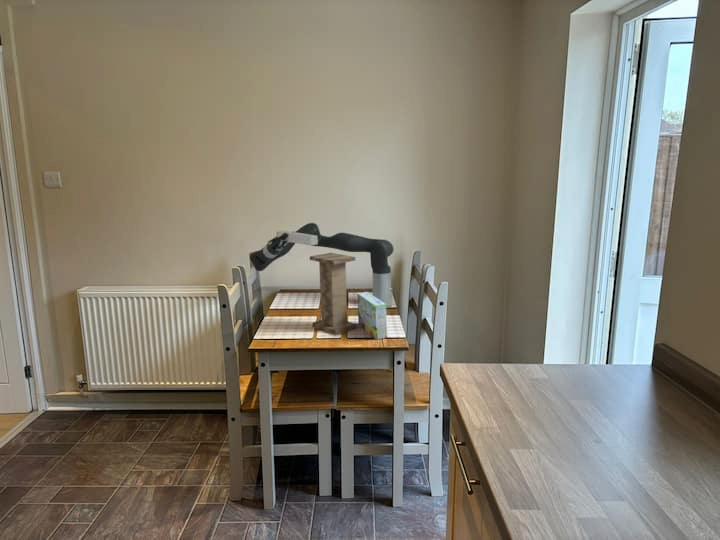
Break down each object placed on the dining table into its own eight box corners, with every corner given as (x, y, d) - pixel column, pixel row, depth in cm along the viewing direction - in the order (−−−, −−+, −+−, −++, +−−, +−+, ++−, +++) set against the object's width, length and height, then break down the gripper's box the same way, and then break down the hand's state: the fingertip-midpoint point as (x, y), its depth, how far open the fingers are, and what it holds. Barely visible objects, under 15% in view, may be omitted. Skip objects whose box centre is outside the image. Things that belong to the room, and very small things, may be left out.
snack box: (357, 325, 217) (356, 292, 213) (368, 323, 219) (368, 291, 215) (375, 340, 197) (374, 305, 194) (387, 338, 199) (387, 303, 196)
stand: (312, 326, 215) (309, 256, 208) (332, 320, 223) (330, 252, 216) (336, 335, 204) (333, 261, 197) (356, 328, 212) (355, 256, 205)
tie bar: (276, 239, 231) (276, 231, 230) (283, 238, 234) (283, 230, 233) (310, 245, 213) (310, 236, 212) (317, 244, 216) (317, 235, 215)
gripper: (258, 243, 234) (275, 228, 222) (282, 239, 244) (299, 225, 231) (263, 257, 233) (280, 242, 220) (287, 253, 242) (305, 239, 230)
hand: (290, 233), depth 226 cm, fingers closed on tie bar, 4 cm apart
